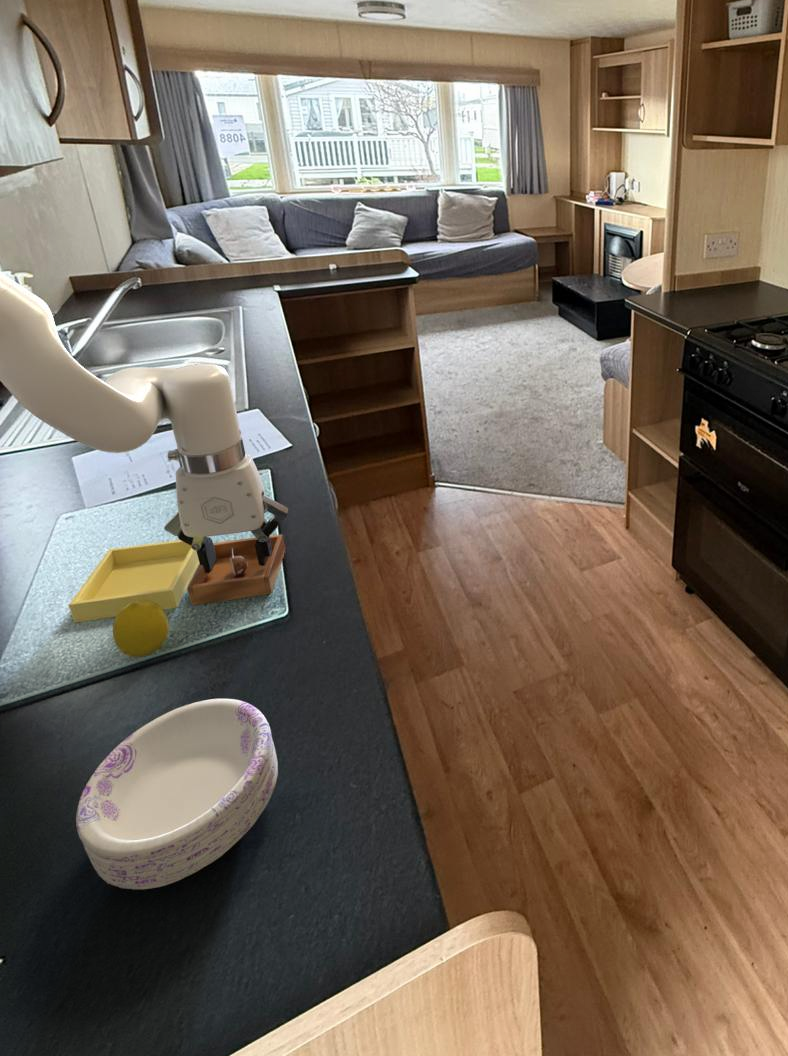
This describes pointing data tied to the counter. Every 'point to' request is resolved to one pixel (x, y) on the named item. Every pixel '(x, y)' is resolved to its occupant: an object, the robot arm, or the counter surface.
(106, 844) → the paper bowls
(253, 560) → the brown bin
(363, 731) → the counter surface
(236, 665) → the counter surface
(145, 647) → the lemon
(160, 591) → the yellow bin
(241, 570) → the chocolate
